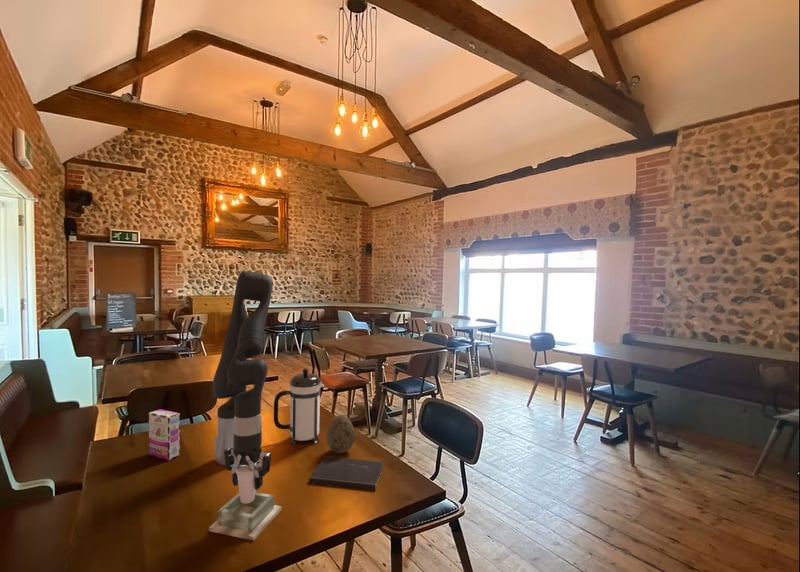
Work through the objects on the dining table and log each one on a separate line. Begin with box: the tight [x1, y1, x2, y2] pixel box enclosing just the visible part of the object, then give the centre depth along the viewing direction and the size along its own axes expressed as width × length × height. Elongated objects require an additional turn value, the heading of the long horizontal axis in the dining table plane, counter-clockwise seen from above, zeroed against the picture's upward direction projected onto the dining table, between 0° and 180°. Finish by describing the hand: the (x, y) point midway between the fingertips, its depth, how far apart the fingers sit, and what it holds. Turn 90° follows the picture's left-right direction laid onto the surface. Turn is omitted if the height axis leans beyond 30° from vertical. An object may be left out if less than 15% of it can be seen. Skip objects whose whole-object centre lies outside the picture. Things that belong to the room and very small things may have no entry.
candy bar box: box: [148, 408, 181, 461], centre depth 150 cm, size 11×5×16 cm, turn 68°
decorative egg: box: [326, 414, 356, 454], centre depth 156 cm, size 11×11×15 cm
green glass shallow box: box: [208, 491, 283, 541], centre depth 113 cm, size 14×14×5 cm
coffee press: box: [273, 368, 325, 446], centre depth 166 cm, size 17×16×30 cm
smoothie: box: [236, 463, 259, 504], centre depth 113 cm, size 6×6×14 cm
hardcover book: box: [308, 455, 386, 492], centre depth 139 cm, size 16×23×2 cm
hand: (247, 486), depth 113 cm, fingers closed on smoothie, 6 cm apart
